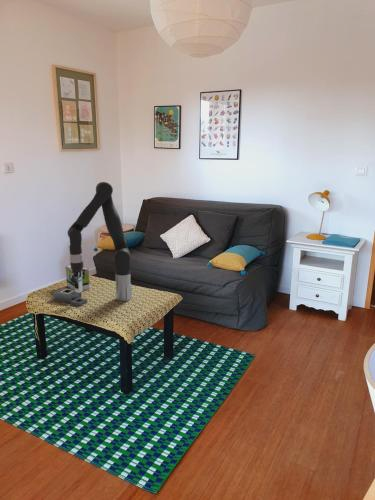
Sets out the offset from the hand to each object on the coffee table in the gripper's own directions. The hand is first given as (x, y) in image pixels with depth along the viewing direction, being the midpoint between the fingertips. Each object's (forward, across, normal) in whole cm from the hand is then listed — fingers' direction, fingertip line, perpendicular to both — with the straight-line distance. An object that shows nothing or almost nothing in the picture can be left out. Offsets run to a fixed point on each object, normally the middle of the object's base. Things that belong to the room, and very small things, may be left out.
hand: (78, 287), depth 237 cm
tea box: (+11, +22, +18) cm, 30 cm away
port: (+11, +3, +12) cm, 16 cm away
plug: (+3, 0, 0) cm, 3 cm away
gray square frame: (+11, 0, +1) cm, 11 cm away
